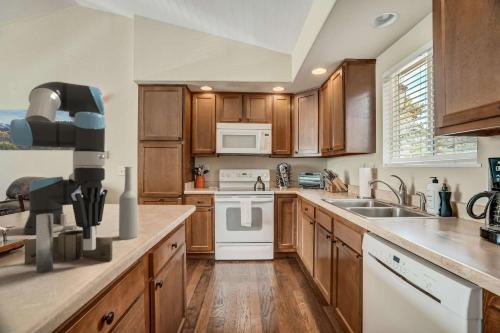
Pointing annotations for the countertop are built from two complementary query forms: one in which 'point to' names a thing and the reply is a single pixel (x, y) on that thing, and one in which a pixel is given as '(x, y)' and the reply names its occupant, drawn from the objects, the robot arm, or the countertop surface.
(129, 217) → the bottle
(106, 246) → the loose leaf
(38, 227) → the hinge pin
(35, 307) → the countertop surface
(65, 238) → the knuckle and fixed leaf
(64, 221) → the pipe connector
